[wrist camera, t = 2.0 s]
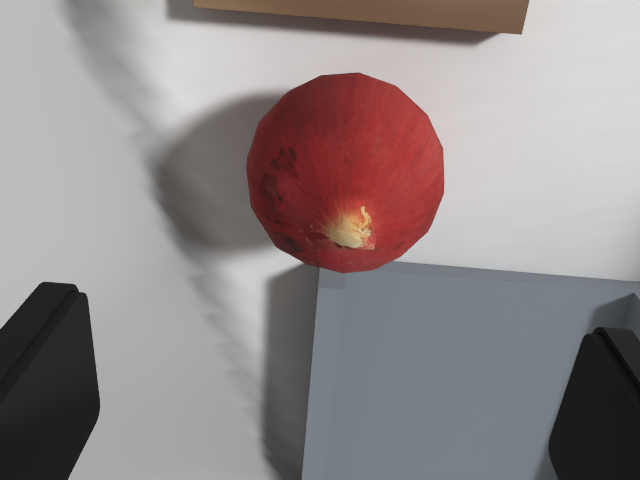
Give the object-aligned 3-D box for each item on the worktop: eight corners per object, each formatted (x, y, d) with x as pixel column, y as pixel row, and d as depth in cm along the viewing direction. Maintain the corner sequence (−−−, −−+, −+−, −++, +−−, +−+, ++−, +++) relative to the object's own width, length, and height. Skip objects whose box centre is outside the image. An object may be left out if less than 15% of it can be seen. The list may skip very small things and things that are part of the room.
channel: (320, 255, 24) (316, 311, 20) (651, 283, 24) (700, 344, 20) (294, 556, 33) (288, 629, 29) (533, 577, 33) (554, 652, 29)
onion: (312, 231, 23) (296, 370, 16) (232, 101, 21) (173, 197, 14) (454, 166, 22) (504, 287, 15) (384, 17, 19) (403, 77, 12)
